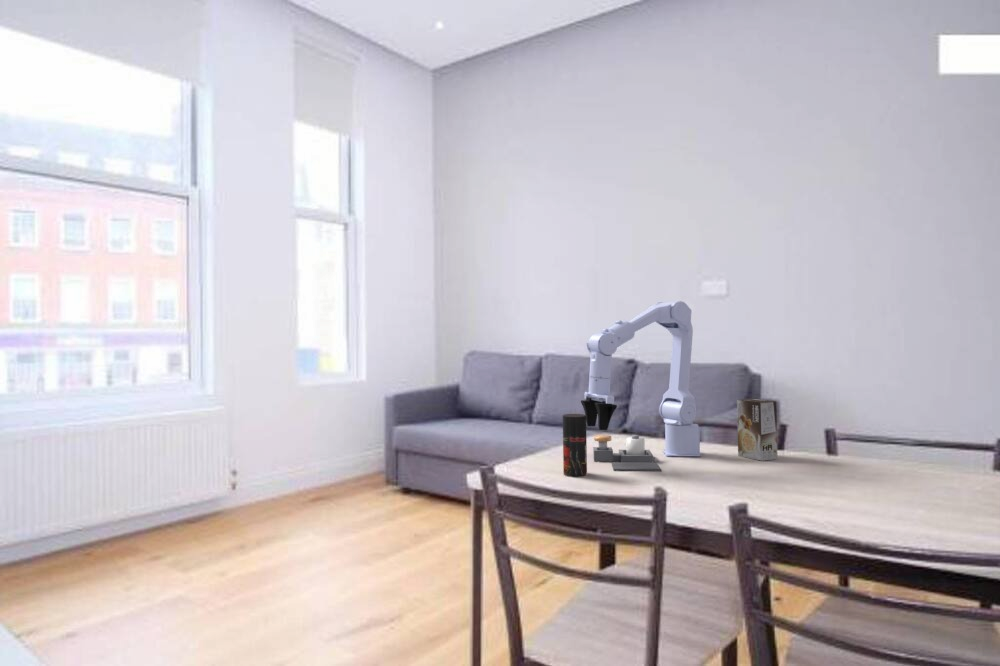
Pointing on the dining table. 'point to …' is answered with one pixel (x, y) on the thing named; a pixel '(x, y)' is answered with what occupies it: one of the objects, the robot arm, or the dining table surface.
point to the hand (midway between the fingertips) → (597, 428)
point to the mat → (635, 466)
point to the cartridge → (635, 445)
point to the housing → (620, 456)
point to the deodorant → (574, 445)
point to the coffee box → (757, 429)
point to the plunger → (602, 441)
